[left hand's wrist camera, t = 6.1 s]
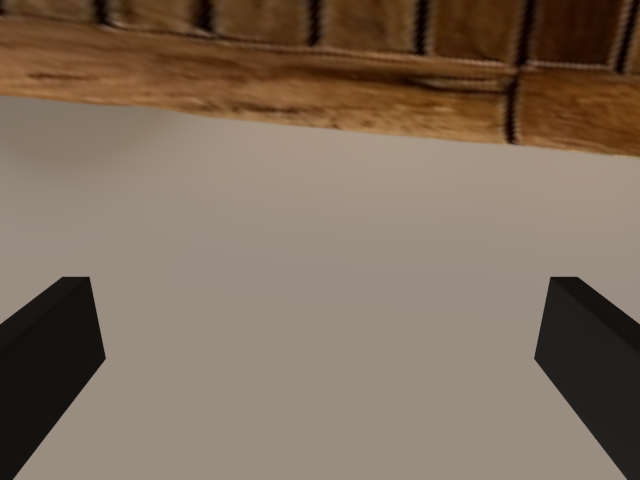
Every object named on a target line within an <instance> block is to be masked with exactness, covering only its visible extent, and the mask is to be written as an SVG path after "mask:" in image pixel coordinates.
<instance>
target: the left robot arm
mask: <svg viewBox="0 0 640 480" xmlns="http://www.w3.org/2000/svg"><path fill="white" fill-rule="evenodd" d="M105 359H106V357H105V352H104V347H103V342H102V337H101V332H100V327H99V322H98V317H97V312H96V307H95V302H94V297H93V292H92V287H91V282H90V277H62V278H60V279H59V280H58V281H57V282H55V283H54V284H53V285H51V286H50V287H49V288H47V289H46V290H45V291H43V292H42V293H41V294H39V295H38V296H37V297H35V298H34V299H33V300H32V301H30V302H29V303H28V304H26V305H25V306H24V307H22V308H21V309H20V310H18V311H17V312H16V313H14V314H13V315H12V316H11V317H9V318H8V319H7V320H5V321H4V322H3V323H1V324H0V480H13V479H14V477H15V476H16V475H17V473H18V472H19V471H20V470H21V468H22V467H23V466H24V464H25V463H26V462H27V460H28V459H29V458H30V457H31V455H32V454H33V453H34V451H35V450H36V449H37V447H38V446H39V445H40V444H41V442H42V441H43V440H44V438H45V437H46V436H47V434H48V433H49V432H50V431H51V429H52V428H53V427H54V425H55V424H56V423H57V422H58V420H59V419H60V418H61V416H62V415H63V414H64V412H65V411H66V410H67V409H68V407H69V406H70V405H71V403H72V402H73V401H74V399H75V398H76V397H77V396H78V394H79V393H80V392H81V390H82V389H83V388H84V386H85V385H86V384H87V383H88V381H89V380H90V379H91V377H92V376H93V375H94V373H95V372H96V371H97V370H98V368H99V367H100V366H101V364H102V363H103V362H104V360H105ZM534 359H535V360H536V362H537V363H538V364H539V366H540V367H541V368H542V369H543V371H544V372H545V373H546V375H547V376H548V377H549V379H550V380H551V381H552V383H553V384H554V385H555V386H556V388H557V389H558V390H559V392H560V393H561V394H562V396H563V397H564V398H565V399H566V401H567V402H568V403H569V405H570V406H571V407H572V409H573V410H574V411H575V412H576V414H577V415H578V416H579V418H580V419H581V420H582V422H583V423H584V424H585V425H586V427H587V428H588V429H589V431H590V432H591V433H592V434H593V436H594V437H595V438H596V440H597V441H598V442H599V444H600V445H601V446H602V447H603V449H604V450H605V451H606V453H607V454H608V455H609V457H610V458H611V459H612V460H613V462H614V463H615V464H616V466H617V467H618V468H619V470H620V471H621V472H622V473H623V475H624V476H625V477H626V479H627V480H640V324H639V323H637V322H636V321H635V320H633V319H632V318H631V317H629V316H628V315H627V314H626V313H624V312H623V311H622V310H620V309H619V308H618V307H616V306H615V305H614V304H612V303H611V302H610V301H608V300H607V299H606V298H605V297H603V296H602V295H601V294H599V293H598V292H597V291H595V290H594V289H593V288H591V287H590V286H589V285H587V284H586V283H585V282H584V281H582V280H581V279H580V278H578V277H550V282H549V287H548V292H547V297H546V302H545V307H544V312H543V317H542V322H541V327H540V332H539V337H538V342H537V347H536V352H535V357H534Z"/></svg>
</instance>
